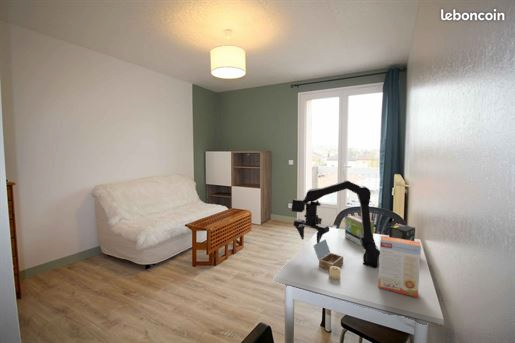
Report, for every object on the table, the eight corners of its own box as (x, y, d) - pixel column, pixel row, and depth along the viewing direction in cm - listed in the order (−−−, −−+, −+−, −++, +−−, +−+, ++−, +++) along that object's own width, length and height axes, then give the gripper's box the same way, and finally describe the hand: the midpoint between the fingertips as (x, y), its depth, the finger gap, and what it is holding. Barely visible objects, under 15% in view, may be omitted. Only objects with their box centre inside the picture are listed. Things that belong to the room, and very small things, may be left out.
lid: (325, 239, 127) (324, 239, 127) (314, 245, 118) (313, 245, 119) (330, 252, 125) (329, 252, 126) (319, 259, 117) (318, 259, 117)
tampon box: (397, 246, 143) (398, 223, 142) (414, 252, 136) (415, 227, 134) (387, 250, 137) (389, 226, 136) (404, 256, 130) (406, 230, 129)
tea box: (344, 237, 158) (345, 215, 157) (356, 236, 161) (357, 214, 160) (360, 246, 144) (361, 222, 143) (373, 244, 147) (374, 220, 146)
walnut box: (342, 263, 121) (343, 256, 121) (332, 271, 112) (332, 264, 112) (330, 258, 126) (330, 252, 125) (319, 266, 117) (319, 259, 117)
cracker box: (416, 290, 97) (420, 241, 96) (418, 298, 92) (421, 246, 90) (378, 281, 104) (381, 234, 103) (377, 287, 99) (380, 239, 98)
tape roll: (342, 277, 107) (342, 268, 107) (337, 281, 104) (337, 272, 103) (332, 273, 111) (332, 264, 110) (327, 277, 107) (327, 268, 107)
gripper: (334, 213, 126) (333, 242, 127) (303, 207, 138) (303, 233, 140) (324, 217, 118) (323, 248, 119) (293, 211, 130) (292, 238, 131)
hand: (310, 241), depth 128 cm, fingers open, 9 cm apart
